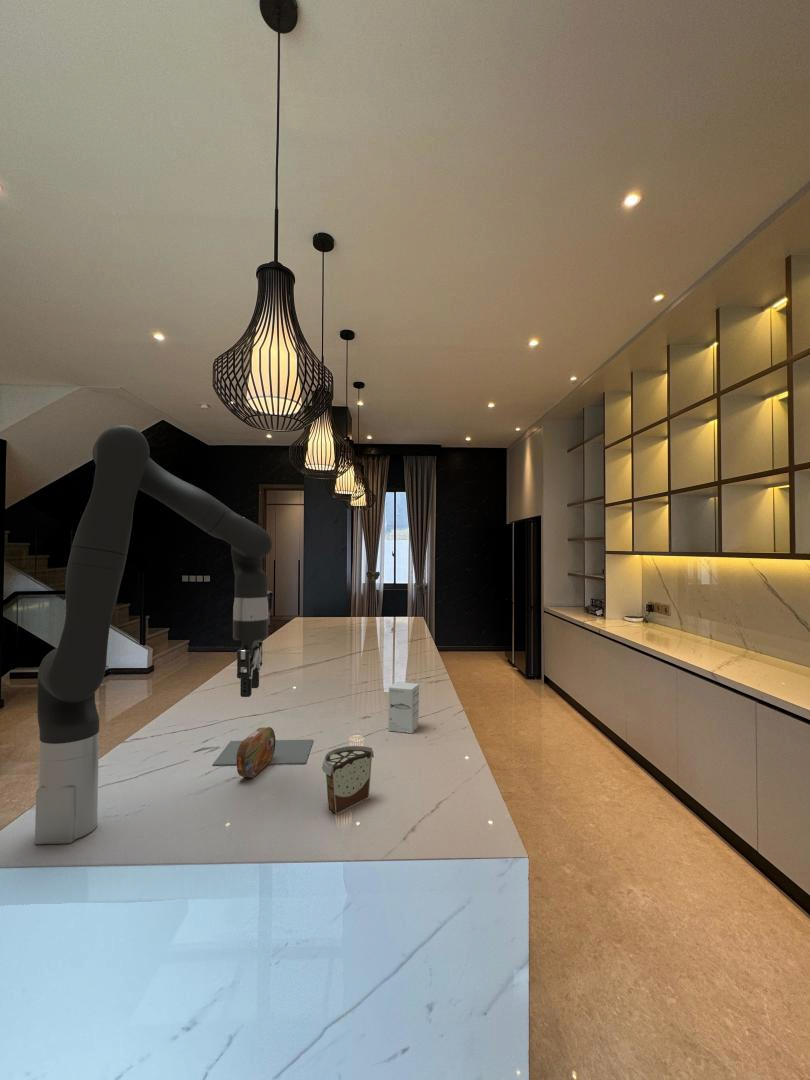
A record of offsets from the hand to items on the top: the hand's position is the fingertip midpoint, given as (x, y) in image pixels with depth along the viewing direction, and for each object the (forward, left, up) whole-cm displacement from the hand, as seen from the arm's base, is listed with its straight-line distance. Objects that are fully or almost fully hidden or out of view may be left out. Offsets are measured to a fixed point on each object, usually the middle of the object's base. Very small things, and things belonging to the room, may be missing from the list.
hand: (250, 691), depth 117 cm
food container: (-10, -21, -20) cm, 31 cm away
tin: (+7, 0, -20) cm, 21 cm away
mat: (+18, 0, -20) cm, 27 cm away
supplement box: (+35, -36, -20) cm, 54 cm away
